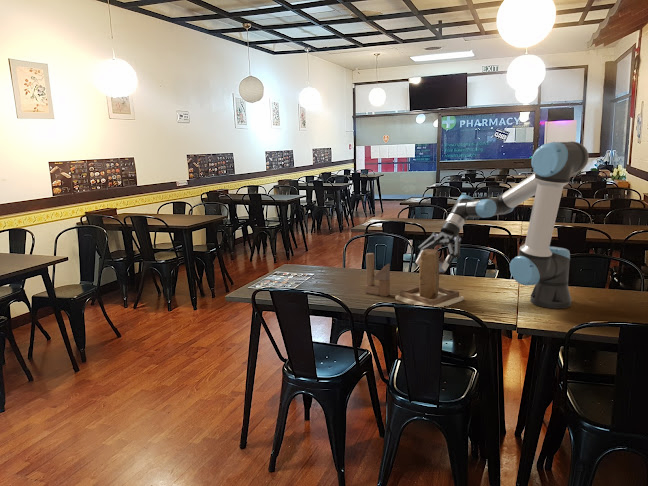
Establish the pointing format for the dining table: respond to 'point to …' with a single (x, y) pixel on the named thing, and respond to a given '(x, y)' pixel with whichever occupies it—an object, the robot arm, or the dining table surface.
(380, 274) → the wooden block
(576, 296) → the dining table surface
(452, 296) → the pocket board
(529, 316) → the dining table surface
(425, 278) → the block
